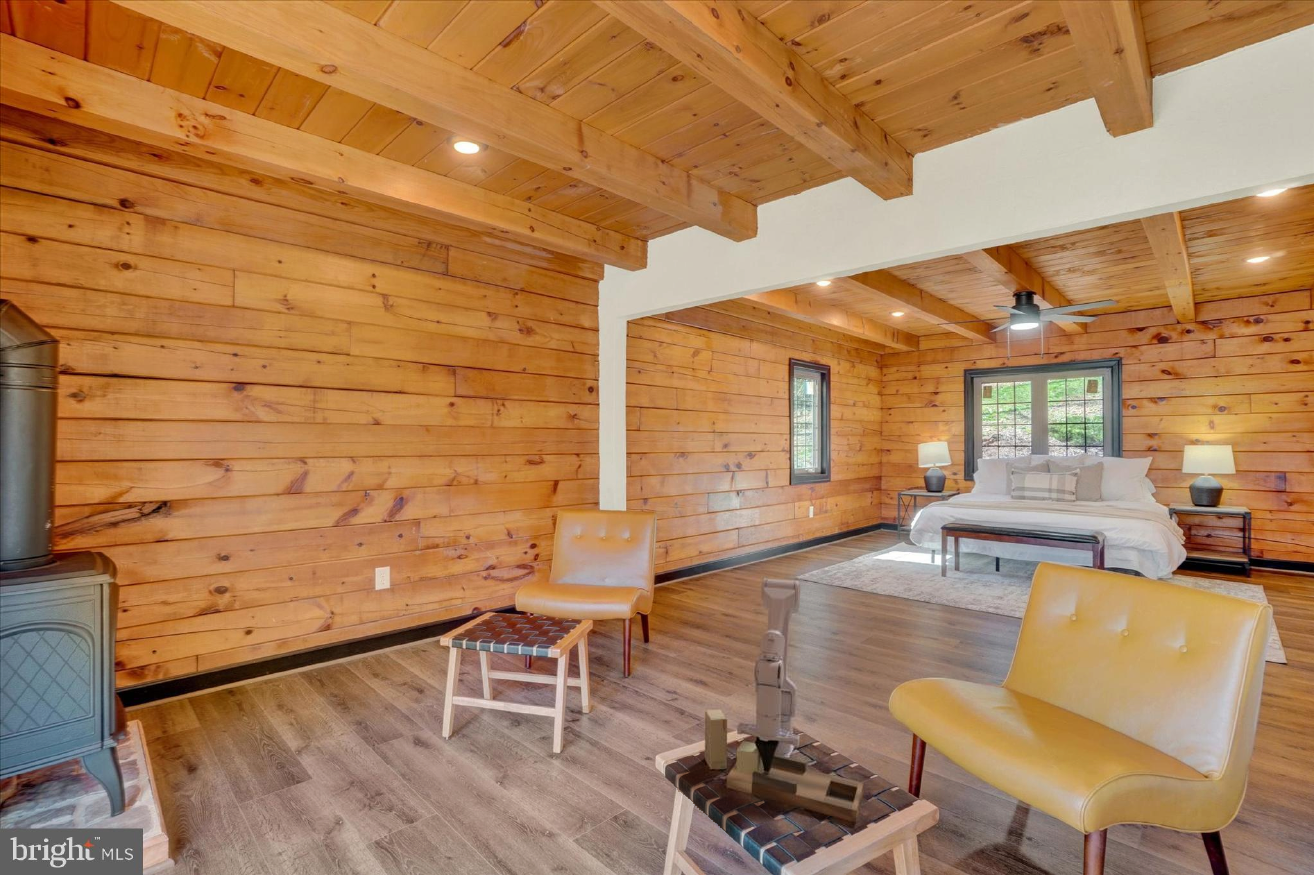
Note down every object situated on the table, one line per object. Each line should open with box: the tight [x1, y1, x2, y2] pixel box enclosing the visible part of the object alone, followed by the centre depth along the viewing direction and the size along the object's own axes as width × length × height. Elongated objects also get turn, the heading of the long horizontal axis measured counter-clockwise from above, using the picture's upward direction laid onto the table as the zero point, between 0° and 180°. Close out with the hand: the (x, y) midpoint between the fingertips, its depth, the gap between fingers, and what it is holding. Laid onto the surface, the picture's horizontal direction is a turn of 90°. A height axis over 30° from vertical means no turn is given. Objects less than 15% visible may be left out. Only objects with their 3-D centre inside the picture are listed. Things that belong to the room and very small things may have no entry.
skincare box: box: [704, 709, 728, 770], centre depth 153 cm, size 6×4×12 cm
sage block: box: [736, 740, 763, 775], centre depth 146 cm, size 5×5×5 cm
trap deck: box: [726, 754, 865, 823], centre depth 141 cm, size 12×29×4 cm, turn 65°
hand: (767, 769), depth 144 cm, fingers closed
